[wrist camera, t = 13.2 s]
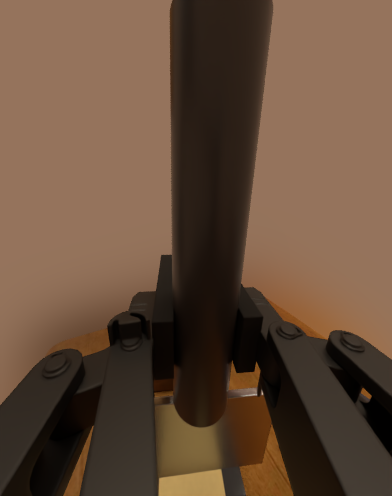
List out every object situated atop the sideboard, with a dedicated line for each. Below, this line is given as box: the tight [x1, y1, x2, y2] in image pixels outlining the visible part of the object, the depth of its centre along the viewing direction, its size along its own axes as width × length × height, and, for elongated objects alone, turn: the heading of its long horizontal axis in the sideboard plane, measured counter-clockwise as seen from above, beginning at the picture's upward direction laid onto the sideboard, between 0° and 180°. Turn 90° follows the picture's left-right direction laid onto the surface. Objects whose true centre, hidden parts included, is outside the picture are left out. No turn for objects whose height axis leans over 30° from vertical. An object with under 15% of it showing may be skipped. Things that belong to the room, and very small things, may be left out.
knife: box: [154, 0, 273, 478], centre depth 8 cm, size 8×3×20 cm, turn 97°
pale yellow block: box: [159, 469, 226, 496], centre depth 16 cm, size 4×5×4 cm
